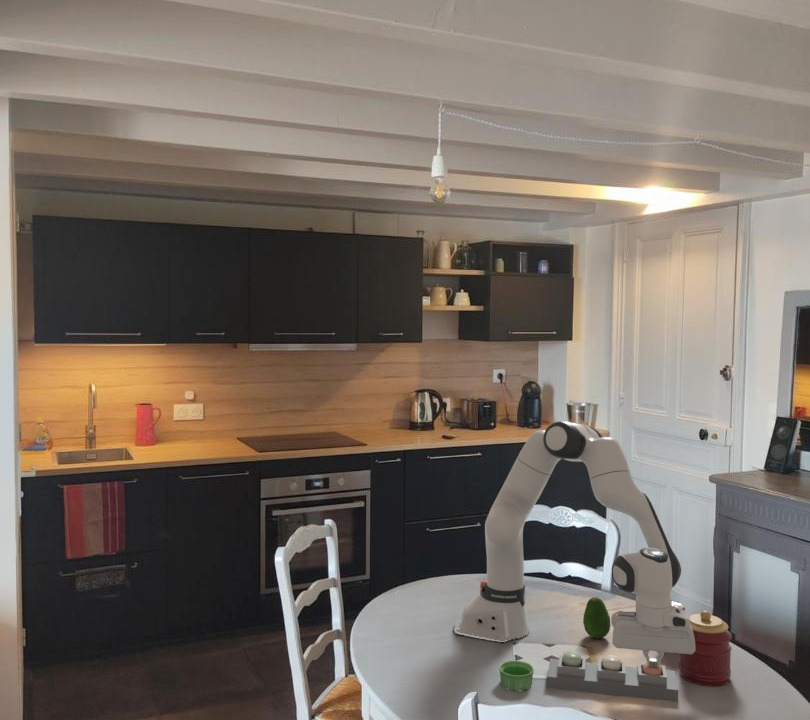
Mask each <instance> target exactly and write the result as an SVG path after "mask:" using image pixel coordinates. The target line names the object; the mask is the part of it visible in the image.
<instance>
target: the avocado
mask: <svg viewBox="0 0 810 720" xmlns="http://www.w3.org/2000/svg"><path fill="white" fill-rule="evenodd" d="M582 623H583V627H584V630H585V632H586V633H587V635H588V636H590V637H592V638H594V639H602V638H605V637H606V636H607V635H608V634H609V633H610V631H611V629H610V628H611V617H610V614H609V611H608V609H607V606H606V605H605V603H604V601H603V600H602V599H600V597H598V596H597V597H595V596H594V597H591V598H589V599H588V601H587V603H586V606H585V610H584V613H583V622H582Z"/></svg>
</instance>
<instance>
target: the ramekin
mask: <svg viewBox="0 0 810 720" xmlns="http://www.w3.org/2000/svg"><path fill="white" fill-rule="evenodd" d="M498 670H499V677H500V685H501V686H502V685H503V686H504V687H503V686H502V687H503V688H504V689H507V688H508V689H507V690H509V689H510V691H514V690H523V691H526V690H525V689H527V690H529V689H530V688H531V687H532V686H531V685H533V675H534V672H535V671H534V670H535V669H534V666H533V665H532V664H530V663H529V662H526V661H523V660H522V661H521V660H509V661H504V662H502V663H500V664H499V666H498ZM529 687H530V688H529ZM528 688H529V689H528Z"/></svg>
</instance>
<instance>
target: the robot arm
mask: <svg viewBox="0 0 810 720" xmlns="http://www.w3.org/2000/svg"><path fill="white" fill-rule="evenodd" d="M518 453H519V454H518V455H517V457H516V459H515V461H514V463H513V465H512V466H511V469H510V471H509V473H508V475H507V477H506V479H505V480H504V483H503V485H502V487H501V488H500V490H499V492H498V493H497V495H496V498H495V500H494V502H493V504H492V505H491V508H490V510H489V513H488V515H487V517H486V520H485V522H484V536H485V537H484V538H485V539H484V540H485V550H486V551H485V552H486V580H485V579H483V580H481V582H480V584H479V586H480V587H479V594H480V595H477V597H475V598H473V599H472V600H470V601H469V602H468V603H467V604H465V606H464V608H463V611H462V614H461V617H462V618H461V623H460V625H459V626H456V627H460V629H459V630H456V631H457V632H460V633H465V634H469V635H474V636H479V637H485V638H489V639H494V640H499V641H505V640H509V639H513V640H515V639H514V638H518V639H521V638H520V637H522V638H524V637H526V636H527V635H528V634H529V633H528V632H530V631H529V626H528V622H527V619H526V610H525V604H526V585H525V584H524V583H525V582H524V579H525V577H524V576H525V575H524V574H525V573H524V571H525V567H524V565H525V563H524V561H525V560H524V559H525V558H524V538H523V537H524V535H523V534H524V527H525V524H526V521H527V520H528V517H529V516H530V514H531V512H532V511H533V509H534V506H535V505H536V503H537V501H538V500H539V499H540V497H541V494H542V493H543V491H544V489H545V487H546V485H547V483H548V481H549V479H550V477H551V476H552V473H553V471H554V469H555V467H556V465H557V464H558V463H559V462H560V461H561V460H565V461H569V462H575V463H576V462H577V463H579V462H580V463H583V464H584V465H585V467H586V469H587V473H588V476H589V481H590V485H591V486H590V487H591V490H592V492H593V493H592V494H593V496H594V497H595V499H596V501H598V503H600V504H601V505H602V506H603V507H605V508H607V509H609V510H612V511H615V512H619V513H622V514H625V515H627V516H629V517H630V518H632V519H634V521H636V523H637V524H638V525H639V528H640V531H641V533H642V535H643V537H644V540H645V542H646V545H647V547H644V548H641V549H639V550H638V551H637V552H632V553H631V552H630V553H624V554H621V555H618V556H616V558H615V559H614V561H613V563H612V566H611V577H612V581H613V583H614V584H615V585H616V586H617V587H618V588H619V589H620V590H622V591H624V592H626V593H634V594H635V596H636V597H635V611H623V610H618V611H617V612H614V613H613V614H612V615H611V617H610V624H611V626H612V627H613V630H612V645H613V646H614V648H616V649H625V650H627V649H628V650H638V651H642V654H643V657H644V658H645V659H646V663H647V667H654V668H659V665H660V662H661V661H662V659H663V658H664V656H665V653H671V654H672V653H673V654H680V653H681V654H693V653H694V652H695V638H694V633H693V629H692V626H691V624H690V614H689V613H688V611H687V610H686V609H685V610H683V609H680V608H677V607H675V606H672V602H673V601H672V598H671V597H672V596H671V592H672V590H673V588H674V587H675V586H676V584H677V583H678V582H679V580H680V577H681V575H682V566H681V563H680V561H679V559H678V557H677V555H676V554H675V552H674V551H673V549H672V547H671V546H670V543H669V540H668V538H667V536H666V533H665V531H664V529H663V527H662V524H661V523H660V522H661V521H660V520H659V517H658V515H657V513H656V510H655V507H654V506H653V503H652V502H651V500H650V498H649V497H648V496H647V494H646V493H644V492H642V491H641V490H640V489H639V488H638V486H637V484H636V483H635V482H634V480H633V477H632V475H631V471H630V467H629V464H628V461H627V457H626V456H625V453H624V450H623V448H622V446H621V444H620V442H618V440H616V439H615V438H613V437H608V436H603V435H602V434H601V433H600V432H599V431H598V430H597V429H595V427H591V426H587V425H586V424H583V423H579V422H570V421H566V420H561V421H556V422H552V423H551V424H550V425H549V426H547V427H546V429H538V430H536V431H534V432H533V433H532V434H531V435H530V437H529V438H528V439H527V440H526V442H525V443H524V445H523V446H522V448H521V450H520V451H519V452H518ZM472 633H473V634H472ZM525 635H526V636H525ZM523 636H524V637H523ZM509 641H510V640H509ZM650 652H657V654H658V655H657V657H656V658H652V657H650V656H649V654H650Z"/></svg>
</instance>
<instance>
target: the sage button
mask: <svg viewBox="0 0 810 720" xmlns="http://www.w3.org/2000/svg"><path fill="white" fill-rule="evenodd" d="M562 656H563V664H564V665H566V666H571V667H579V666H581V658H582V655H581V654H580V653H579V652H576V651H565V652H563V654H562Z"/></svg>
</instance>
